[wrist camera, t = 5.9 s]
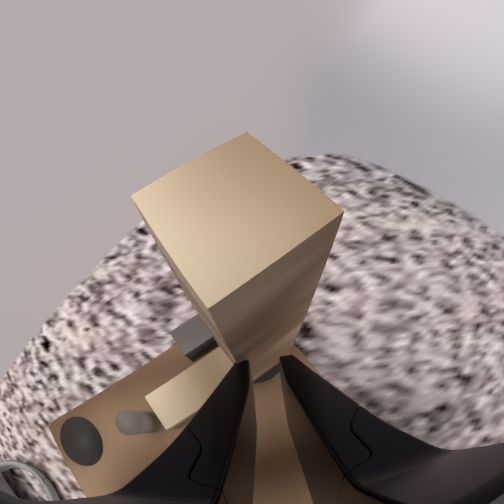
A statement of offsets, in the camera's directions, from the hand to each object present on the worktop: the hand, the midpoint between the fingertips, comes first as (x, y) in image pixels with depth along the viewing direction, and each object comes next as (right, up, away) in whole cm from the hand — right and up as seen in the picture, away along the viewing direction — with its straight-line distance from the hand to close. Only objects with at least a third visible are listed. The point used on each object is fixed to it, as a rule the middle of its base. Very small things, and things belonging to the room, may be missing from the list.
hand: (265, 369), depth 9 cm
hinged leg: (-2, -3, +6) cm, 7 cm away
